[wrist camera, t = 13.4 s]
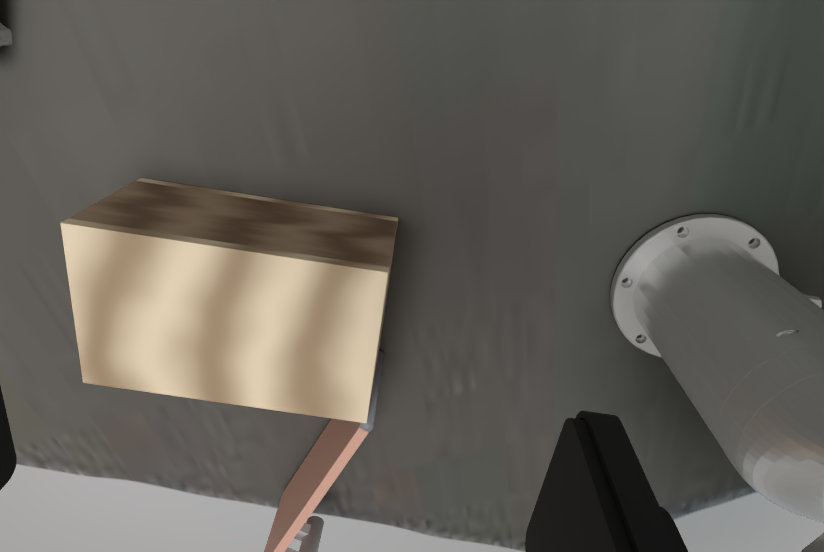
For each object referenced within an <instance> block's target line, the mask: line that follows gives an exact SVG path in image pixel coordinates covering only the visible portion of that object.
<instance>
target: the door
mask: <svg viewBox="0 0 824 552" xmlns="http://www.w3.org/2000/svg"><path fill="white" fill-rule="evenodd" d="M383 358H384V354H383V352H382V351H379V353H378V358H377V364H376V370H375V376H374V382H373V388H372V394H371V400H370V406H369V412H368V417H367V423H360V422H353V421H346V420H339V419H332V418H331V420H330V421H329V423H328V425H327V426H326V428H325V429H324V431H323V432H322V434H321V435H320V437H319V438H318V440H317V441H316V443H315V444H314V446H313V447H312V449H311V450H310V452H309V454H308V455H307V457H306V458H305V460H304V461H303V463H302V464H301V466H300V467H299V469H298V470H297V472H296V473H295V475H294V476H293V478H292V480H291V481H290V483H289V484H288V486H287V487H286V489H285V490H284V492H283V494H282V497H281V500H280V504H279V507H278V510H277V513H276V516H275V519H274V522H273V526H272V529H271V532H270V535H269V538H268V541H267V544H266V548H265V551H264V552H298V551H295V550H293V549H291V548H288V546H289V545H290V543H291V542H292V541H293V539H294V538H295V539H297V540H300V541H302V542H301V547H300V550H299V552H318V547H319V542H320V538H321V533H322V528H323V524H324V521H323V520H322V518H320V517H318V516H312V517H309V516H310V515H311V514H312V512H313V511H314V509H315V508H316V507H317V505H318V504H319V502H320V501H321V499H322V498H323V497H324V495H325V494H326V492H327V491H328V490H329V488H330V487H331V485H332V484H333V482H334V481H335V480H336V478H337V477H338V475H339V474H340V473H341V471H342V470H343V468H344V467H345V465H346V464H347V463H348V461H349V460H350V458H351V457H352V456H353V454H354V453H355V451H356V450H357V448H358V447H359V446H360V444H361V443H362V441H363V440H364V438H365V437H366V436H367V434H368V433H369V432H370V431H372V429H373V424H374V418H375V411H376V404H377V398H378V391H379V385H380V378H381V372H382V365H383ZM306 521H307V523H305V522H306Z"/></svg>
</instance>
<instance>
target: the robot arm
mask: <svg viewBox="0 0 824 552" xmlns="http://www.w3.org/2000/svg"><path fill="white" fill-rule="evenodd" d="M679 228H681V229H680V230H679ZM678 230H679V231H678ZM625 278H626V279H625ZM623 279H625V280H623ZM610 304H611V309H612V313H613V317H614V319H615V321H616V323H617V325H618V327H619V328H620V330H621V331H622V333H623V334H624V335H625V337H626V338H627V339H628V340H629V341H630V342H631V343H632V344H633V345H634V346H636V347H638V348H639V349H641V350H643V351H645V352H646V353H649V354H652V355H655V356H658V357H662V358H663V359H664V361H665V362H666V364H667V365H668V367H669V368H670V370H671V371H672V373H673V374H674V376H675V378H676V379H677V381H678V382H679V384H680V385H681V387H682V388H683V390H684V391H685V393H686V394H687V396H688V397H689V399H690V400H691V402H692V403H693V405H694V406H695V408H696V409H697V411H698V413H699V414H700V416H701V417H702V419H703V420H704V422H705V423H706V425H707V426H708V428H709V429H710V431H711V432H712V434H713V435H714V437H715V438H716V440H717V441H718V443H719V444H720V446H721V448H722V449H723V451H724V453H725V454H726V456H727V457H728V459H729V460H730V462H731V463H732V465H733V466H734V468H735V469H736V470H737V471H738V473H739V474H740V475H741V476H742V478H743V479H744V480H745V481H746V482H747V483H748V484H749V485H750V486H751V487H752V488H753V489H754V490H756V491H757V492H758V493H760V494H761V495H762V496H764V497H765V498H767V499H768V500H769V501H771V502H773V503H775V504H776V505H778V506H780V507H783V508H785V509H787V510H789V511H791V512H793V513H796V514H798V515H801V516H804V517H807V518H810V519H813V520H816V521H818V522H822V523H824V310H823V309H822V308H821V306H822V303H821V300H820V298H819V297H816V296H810V295H804V294H802V293H801V292H800V291H798V290H797V289H796V288H795V287H793V286H792V285H791V284H789V283H788V282H787V281H785V280H784V279H783V278H781V277H780V276H779V267H778V260H777V258H776V255H775V252H774V250H773V248H772V247H771V245H770V244H769V242H768V241H767V240H766V238H765V237H764V236H762V235H761V234H760V233H759V232H758V231H756V230H755V229H754V228H752V227H751V226H749V225H748V224H746V223H744V222H743V221H740V220H737V219H735V218H732V217H729V216H724V215H718V214H696V215H691V216H686V217H681V218H678V219H675V220H672V221H670V222H667V223H664V224H663V225H661V226H659V227H657V228H656V229H654V230H652V231H650V232H649V233H648V234H646V235H645V236H644V237H642V238H641V239H640V240H639V241H637V242H636V243H635V244H634V246H633V247H632V248H631V249H630V250H629V251H628V252H627V253H626V255H625V256H624V258H623V259H622V261H621V262H620V264H619V266H618V267H617V270H616V272H615V275H614V277H613V280H612V285H611V291H610ZM15 467H16V453H15V449H14V444H13V440H12V436H11V431H10V427H9V422H8V418H7V413H6V409H5V405H4V400H3V396H2V391H1V387H0V490H1V489H2V487H4V485H5V484H6V483H7V482H8V481H9V479H10V478H11V476H12V474H13V472H14V470H15ZM525 547H526V552H688V550H687V548H686V546H685V544H684V542H683V540H682V538H681V535H680V533H679V531H678V529H677V527H676V525H675V523H674V521H673V519H672V518H671V516H670V514H669V513H668V512H667V511H666V510H665V509H664V508H662V507H659V504H658V502H657V500H656V498H655V496H654V493H653V491H652V489H651V487H650V484H649V482H648V480H647V478H646V476H645V473H644V471H643V469H642V467H641V465H640V462H639V460H638V458H637V456H636V454H635V451H634V449H633V447H632V445H631V443H630V440H629V438H628V436H627V434H626V431H625V429H624V427H623V425H622V423H621V421H620V419H619V418H618V417H617V416H615V415H608V414H602V413H595V412H588V411H580V412H579V413H578V414H577V416H576V418H575V419H573V418H567V420H566V421H565V423H564V425H563V428H562V431H561V434H560V437H559V439H558V442H557V445H556V448H555V451H554V454H553V457H552V459H551V462H550V465H549V468H548V471H547V474H546V477H545V480H544V482H543V485H542V488H541V491H540V494H539V497H538V500H537V502H536V505H535V508H534V511H533V514H532V517H531V520H530V523H529V525H528V528H527V532H526V542H525ZM802 552H824V533H823V534H822V535H820V536H819V537H818V538H817V539H816V540H814V541H813V542H812V543H811V544H809V545H808V546H807V547H805V548H804V549H803V550H802Z"/></svg>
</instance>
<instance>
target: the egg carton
mask: <svg viewBox="0 0 824 552" xmlns="http://www.w3.org/2000/svg"><path fill="white" fill-rule="evenodd" d="M3 45H12V33H11V30H10V29H8V28H6V27H5V26H3V25H2V24H1V23H0V47H1V46H3Z"/></svg>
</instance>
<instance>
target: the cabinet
mask: <svg viewBox="0 0 824 552" xmlns="http://www.w3.org/2000/svg"><path fill="white" fill-rule="evenodd" d="M397 224H398V218H396V217H390V216H383V215H377V214H371V213H364V212H358V211H351V210H345V209H338V208H332V207H325V206H319V205H313V204H306V203H300V202H293V201H287V200H280V199H274V198H267V197H261V196H255V195H248V194H242V193H235V192H229V191H222V190H216V189H209V188H203V187H197V186H190V185H184V184H177V183H171V182H164V181H158V180H151V179H145V178H140V179H138V180H136V181H135V182H133V183H131V184H129V185H128V186H126V187H124V188H122V189H120V190H119V191H117V192H115V193H113V194H111V195H110V196H108V197H106V198H104V199H102V200H101V201H99V202H97V203H95V204H94V205H92V206H90V207H88V208H86V209H85V210H83V211H81V212H79V213H77V214H76V215H74V216H72V217H70V218H68V219H67V220H65V221H63V222H61V230H62V237H63V244H64V251H65V258H66V265H67V272H68V279H69V286H70V293H71V300H72V307H73V314H74V321H75V328H76V335H77V343H78V350H79V357H80V364H81V371H82V378H83V383H89V384H96V385H103V386H110V387H117V388H124V389H131V390H138V391H145V392H152V393H159V394H166V395H173V396H180V397H187V398H194V399H200V400H207V401H214V402H221V403H228V404H235V405H242V406H249V407H256V408H263V409H270V410H277V411H284V412H291V413H298V414H305V415H312V416H319V417H326V418H332V419H339V420H346V421H353V422H360V423H367V417H368V412H369V406H370V400H371V394H372V388H373V382H374V376H375V370H376V364H377V358H378V353H379V347H380V340H381V333H382V326H383V319H384V313H385V306H386V299H387V292H388V285H389V279H390V272H391V265H392V258H393V251H394V244H395V238H396V231H397Z"/></svg>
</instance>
